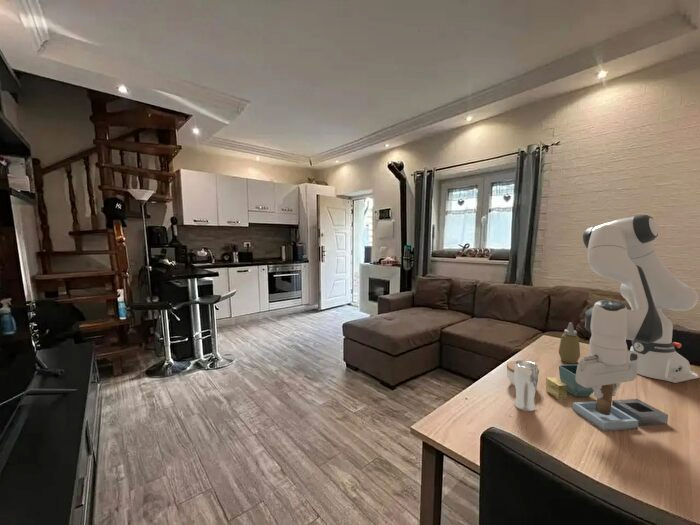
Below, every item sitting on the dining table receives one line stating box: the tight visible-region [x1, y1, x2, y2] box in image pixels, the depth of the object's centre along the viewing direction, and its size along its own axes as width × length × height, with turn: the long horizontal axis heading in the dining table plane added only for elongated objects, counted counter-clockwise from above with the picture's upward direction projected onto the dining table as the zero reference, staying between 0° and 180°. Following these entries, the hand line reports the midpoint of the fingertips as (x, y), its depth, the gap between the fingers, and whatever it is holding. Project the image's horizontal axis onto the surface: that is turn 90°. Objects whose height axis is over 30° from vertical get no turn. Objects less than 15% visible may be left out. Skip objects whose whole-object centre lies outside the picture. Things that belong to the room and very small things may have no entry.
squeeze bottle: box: [558, 322, 581, 364], centre depth 136 cm, size 8×8×18 cm
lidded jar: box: [506, 360, 540, 388], centre depth 114 cm, size 11×11×9 cm
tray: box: [572, 400, 639, 432], centre depth 94 cm, size 11×11×2 cm
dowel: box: [596, 384, 614, 415], centre depth 93 cm, size 4×4×10 cm
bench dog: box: [545, 376, 567, 400], centre depth 108 cm, size 3×6×5 cm, turn 5°
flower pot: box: [558, 364, 594, 397], centre depth 109 cm, size 9×9×9 cm
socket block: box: [611, 398, 669, 427], centre depth 95 cm, size 9×9×3 cm
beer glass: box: [514, 359, 539, 412], centre depth 100 cm, size 7×7×15 cm
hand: (604, 396), depth 93 cm, fingers closed on dowel, 3 cm apart
